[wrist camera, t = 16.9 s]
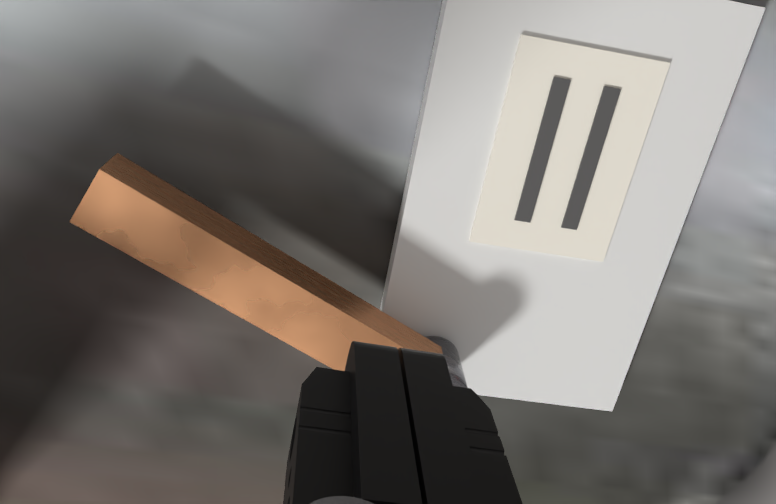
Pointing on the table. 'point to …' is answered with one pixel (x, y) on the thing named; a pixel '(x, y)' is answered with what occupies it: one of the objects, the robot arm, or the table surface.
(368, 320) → the bar
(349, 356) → the robot arm
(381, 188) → the table surface
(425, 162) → the label panel
